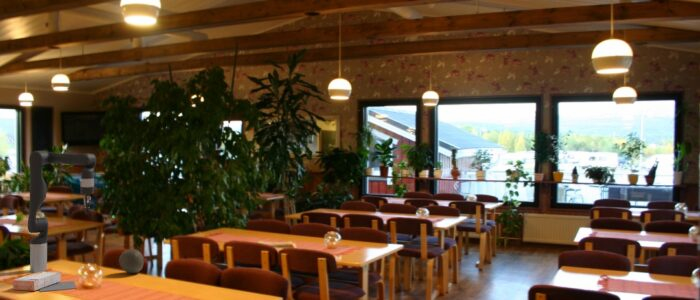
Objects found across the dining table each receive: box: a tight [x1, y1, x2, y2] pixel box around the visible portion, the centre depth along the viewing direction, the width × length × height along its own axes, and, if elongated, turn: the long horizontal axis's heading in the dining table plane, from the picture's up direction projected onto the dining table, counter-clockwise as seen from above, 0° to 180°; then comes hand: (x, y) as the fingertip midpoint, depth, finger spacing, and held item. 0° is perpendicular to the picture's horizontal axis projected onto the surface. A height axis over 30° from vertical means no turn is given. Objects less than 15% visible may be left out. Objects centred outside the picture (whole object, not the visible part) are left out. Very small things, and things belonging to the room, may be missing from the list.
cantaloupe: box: [118, 248, 144, 274], centre depth 371 cm, size 14×14×15 cm
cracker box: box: [12, 270, 62, 292], centre depth 335 cm, size 14×6×21 cm
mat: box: [39, 280, 77, 293], centre depth 336 cm, size 18×18×1 cm
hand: (87, 214), depth 367 cm, fingers closed
